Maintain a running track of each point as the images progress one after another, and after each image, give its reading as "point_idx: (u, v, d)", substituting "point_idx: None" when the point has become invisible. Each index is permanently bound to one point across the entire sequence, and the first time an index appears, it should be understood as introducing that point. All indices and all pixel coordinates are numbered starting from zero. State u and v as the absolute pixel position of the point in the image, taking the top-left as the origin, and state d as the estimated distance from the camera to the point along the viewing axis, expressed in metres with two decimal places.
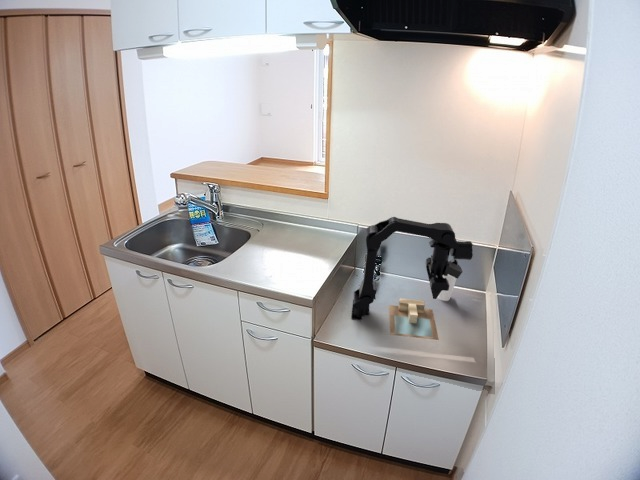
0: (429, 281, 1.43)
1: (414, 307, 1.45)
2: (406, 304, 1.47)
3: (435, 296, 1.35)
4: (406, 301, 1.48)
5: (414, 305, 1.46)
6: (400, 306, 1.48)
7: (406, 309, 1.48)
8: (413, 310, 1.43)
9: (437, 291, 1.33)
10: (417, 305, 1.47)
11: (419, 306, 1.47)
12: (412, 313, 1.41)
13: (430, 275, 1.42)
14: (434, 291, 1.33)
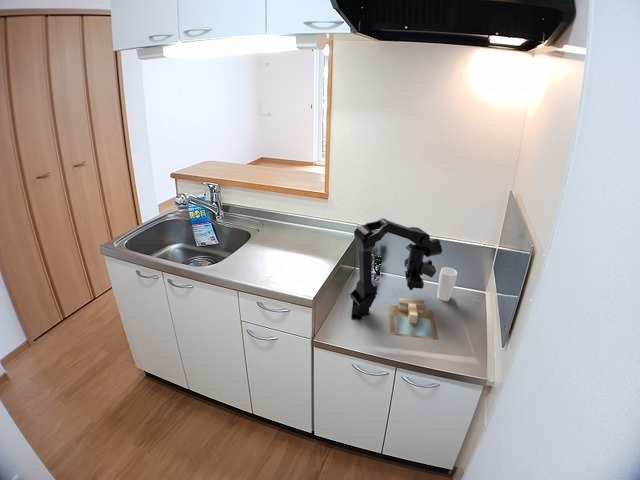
0: None
1: (414, 307, 1.45)
2: (406, 304, 1.47)
3: (411, 288, 1.52)
4: (406, 301, 1.48)
5: (414, 305, 1.46)
6: (400, 306, 1.48)
7: (406, 309, 1.48)
8: (413, 310, 1.43)
9: None
10: (417, 305, 1.47)
11: (419, 306, 1.47)
12: (412, 313, 1.41)
13: None
14: None
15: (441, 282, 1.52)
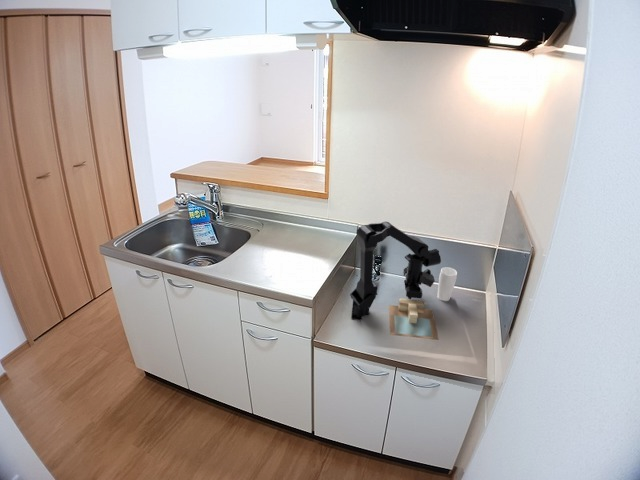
0: None
1: (414, 307, 1.45)
2: (406, 304, 1.47)
3: (410, 297, 1.54)
4: (406, 301, 1.48)
5: (414, 305, 1.46)
6: (400, 306, 1.48)
7: (406, 309, 1.48)
8: (413, 310, 1.43)
9: None
10: (417, 305, 1.47)
11: (419, 306, 1.47)
12: (412, 313, 1.41)
13: None
14: None
15: (441, 282, 1.52)
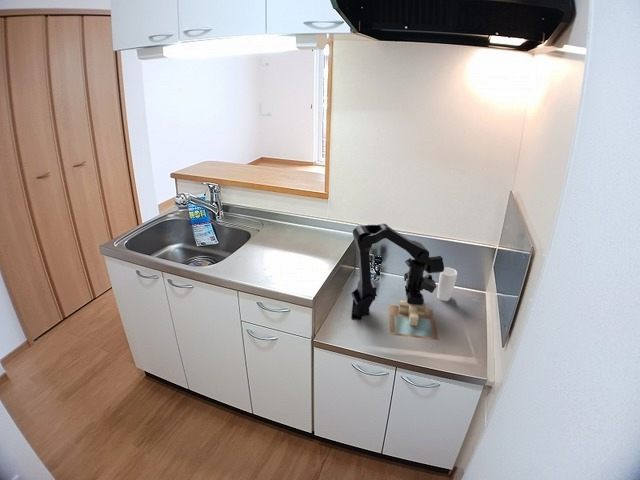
0: None
1: (415, 309, 1.43)
2: (406, 306, 1.46)
3: None
4: (406, 303, 1.47)
5: (415, 307, 1.45)
6: (400, 308, 1.47)
7: (406, 311, 1.47)
8: (414, 312, 1.42)
9: None
10: (418, 307, 1.45)
11: (420, 308, 1.46)
12: (413, 315, 1.40)
13: None
14: None
15: (441, 282, 1.52)
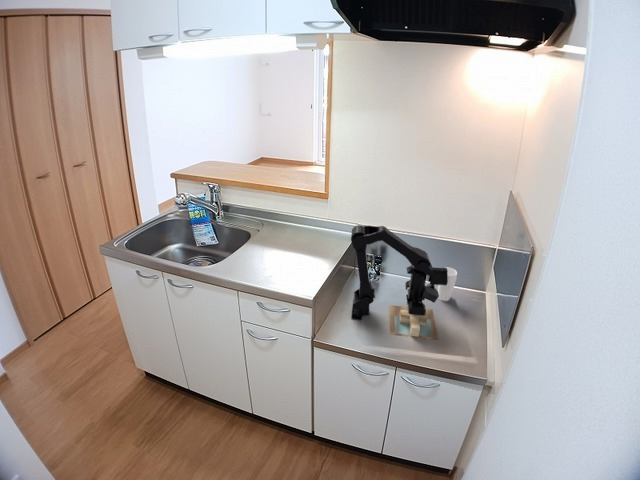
0: None
1: (416, 319, 1.38)
2: (407, 316, 1.40)
3: None
4: (408, 313, 1.41)
5: (416, 317, 1.39)
6: (401, 318, 1.41)
7: (408, 321, 1.41)
8: (415, 323, 1.36)
9: None
10: (419, 317, 1.40)
11: (421, 318, 1.40)
12: (414, 326, 1.34)
13: None
14: None
15: None
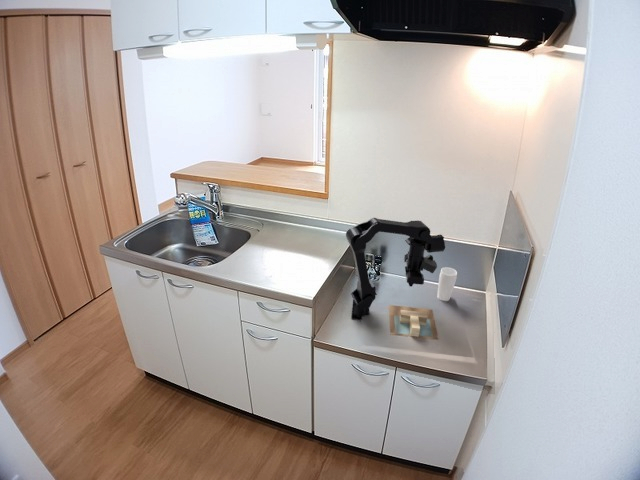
0: None
1: (416, 319, 1.38)
2: (407, 316, 1.40)
3: (411, 284, 1.46)
4: (408, 313, 1.41)
5: (416, 317, 1.39)
6: (401, 318, 1.41)
7: (408, 321, 1.41)
8: (415, 323, 1.36)
9: None
10: (419, 317, 1.40)
11: (421, 318, 1.40)
12: (414, 326, 1.34)
13: None
14: None
15: (441, 282, 1.52)
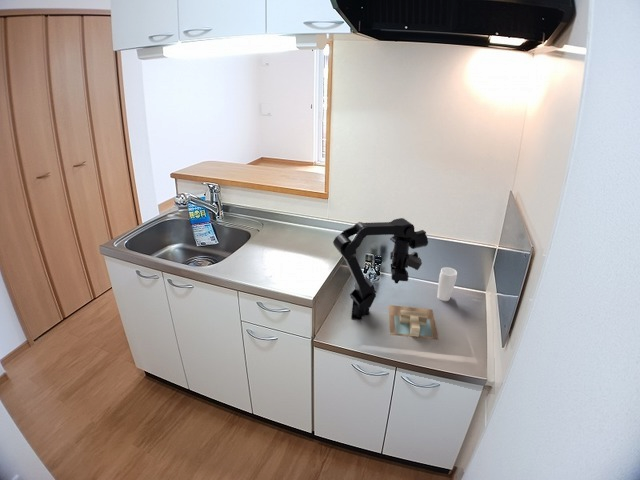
0: None
1: (416, 319, 1.38)
2: (407, 316, 1.40)
3: (396, 281, 1.47)
4: (408, 313, 1.41)
5: (416, 317, 1.39)
6: (401, 318, 1.41)
7: (408, 321, 1.41)
8: (415, 323, 1.36)
9: None
10: (419, 317, 1.40)
11: (421, 318, 1.40)
12: (414, 326, 1.34)
13: None
14: None
15: (441, 282, 1.52)
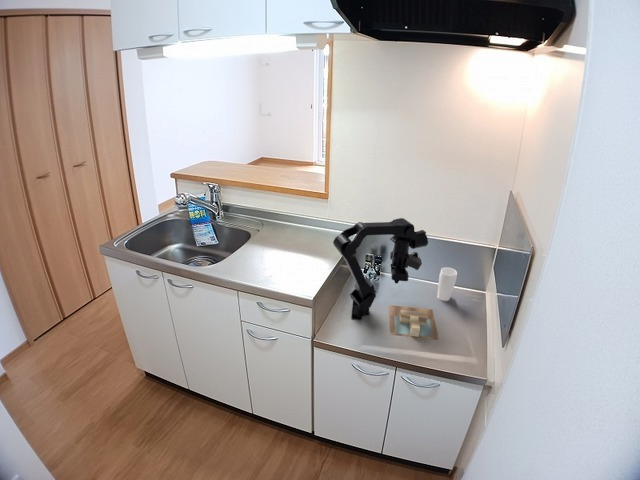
0: None
1: (416, 319, 1.38)
2: (407, 316, 1.40)
3: (396, 281, 1.47)
4: (408, 313, 1.41)
5: (416, 317, 1.39)
6: (401, 318, 1.41)
7: (408, 321, 1.41)
8: (415, 323, 1.36)
9: None
10: (419, 317, 1.40)
11: (421, 318, 1.40)
12: (414, 326, 1.34)
13: None
14: None
15: (441, 282, 1.52)
